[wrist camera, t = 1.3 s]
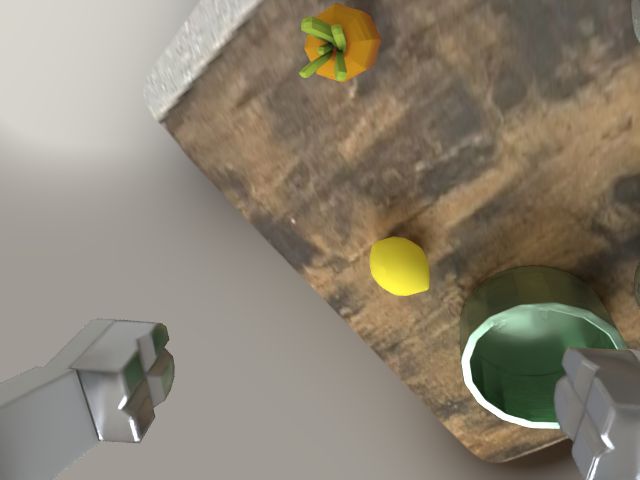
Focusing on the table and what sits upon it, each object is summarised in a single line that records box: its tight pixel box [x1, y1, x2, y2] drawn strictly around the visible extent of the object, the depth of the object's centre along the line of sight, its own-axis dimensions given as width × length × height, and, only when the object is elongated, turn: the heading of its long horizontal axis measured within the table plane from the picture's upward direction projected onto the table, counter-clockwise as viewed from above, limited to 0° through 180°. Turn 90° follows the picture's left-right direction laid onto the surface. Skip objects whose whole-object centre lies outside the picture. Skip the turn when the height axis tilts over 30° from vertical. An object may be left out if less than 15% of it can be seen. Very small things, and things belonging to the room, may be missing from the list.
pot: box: [459, 266, 629, 429], centre depth 43 cm, size 14×14×7 cm
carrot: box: [299, 3, 382, 83], centre depth 32 cm, size 5×5×15 cm
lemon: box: [370, 237, 430, 296], centre depth 44 cm, size 7×5×5 cm
